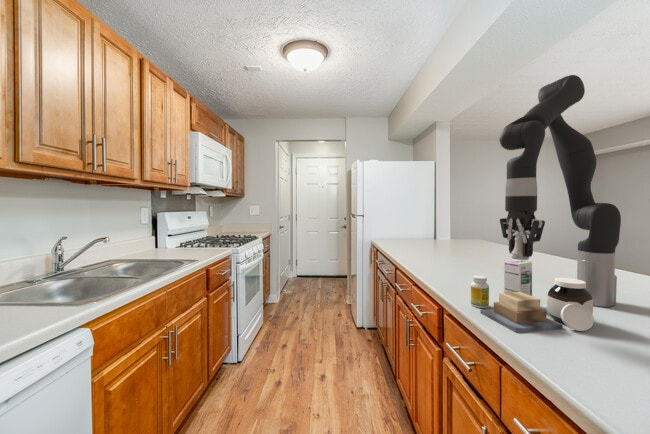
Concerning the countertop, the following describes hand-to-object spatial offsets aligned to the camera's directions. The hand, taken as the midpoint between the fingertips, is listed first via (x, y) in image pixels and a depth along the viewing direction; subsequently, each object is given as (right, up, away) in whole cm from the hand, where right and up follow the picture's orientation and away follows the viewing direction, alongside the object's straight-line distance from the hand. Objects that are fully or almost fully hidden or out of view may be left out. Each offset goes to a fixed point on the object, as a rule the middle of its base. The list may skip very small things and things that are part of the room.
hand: (520, 254), depth 85 cm
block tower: (0, -19, +1) cm, 19 cm away
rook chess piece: (0, -1, 0) cm, 1 cm away
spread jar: (+13, -19, -2) cm, 23 cm away
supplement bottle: (-5, -19, +13) cm, 23 cm away
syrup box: (+8, -18, +14) cm, 25 cm away
